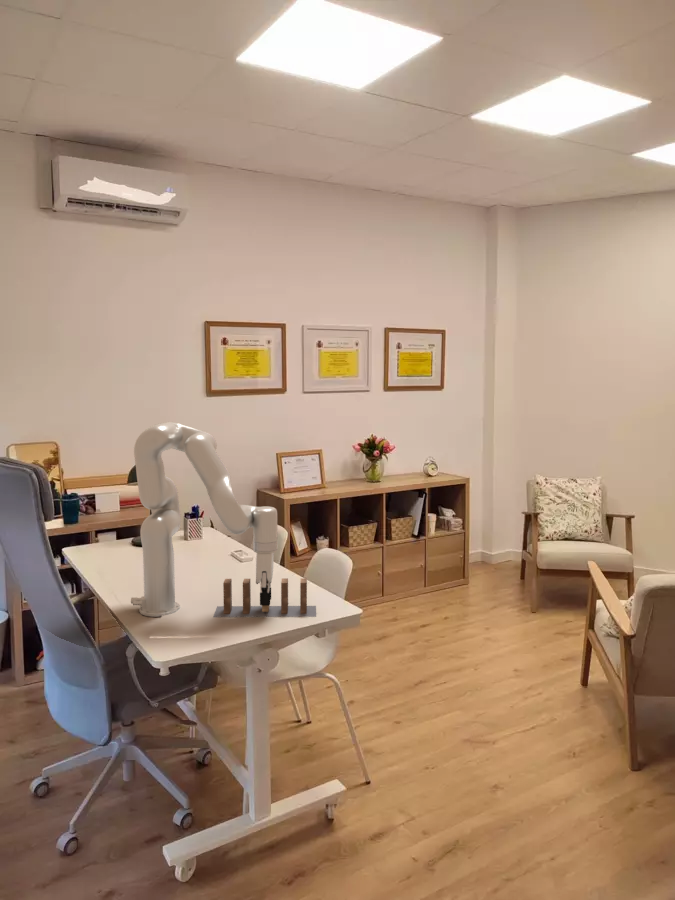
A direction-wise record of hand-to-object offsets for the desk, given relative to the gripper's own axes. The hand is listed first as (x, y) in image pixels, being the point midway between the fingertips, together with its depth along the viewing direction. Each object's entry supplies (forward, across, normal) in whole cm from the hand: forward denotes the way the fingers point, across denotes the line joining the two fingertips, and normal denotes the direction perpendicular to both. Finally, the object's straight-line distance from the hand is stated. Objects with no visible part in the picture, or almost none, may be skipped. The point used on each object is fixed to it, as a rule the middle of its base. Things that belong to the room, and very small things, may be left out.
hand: (265, 601), depth 219 cm
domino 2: (+3, 0, -6) cm, 7 cm away
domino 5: (+3, 0, +12) cm, 12 cm away
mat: (+4, 0, 0) cm, 4 cm away
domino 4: (+3, 0, +6) cm, 7 cm away
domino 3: (+2, 0, 0) cm, 2 cm away
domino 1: (+3, 0, -12) cm, 12 cm away
